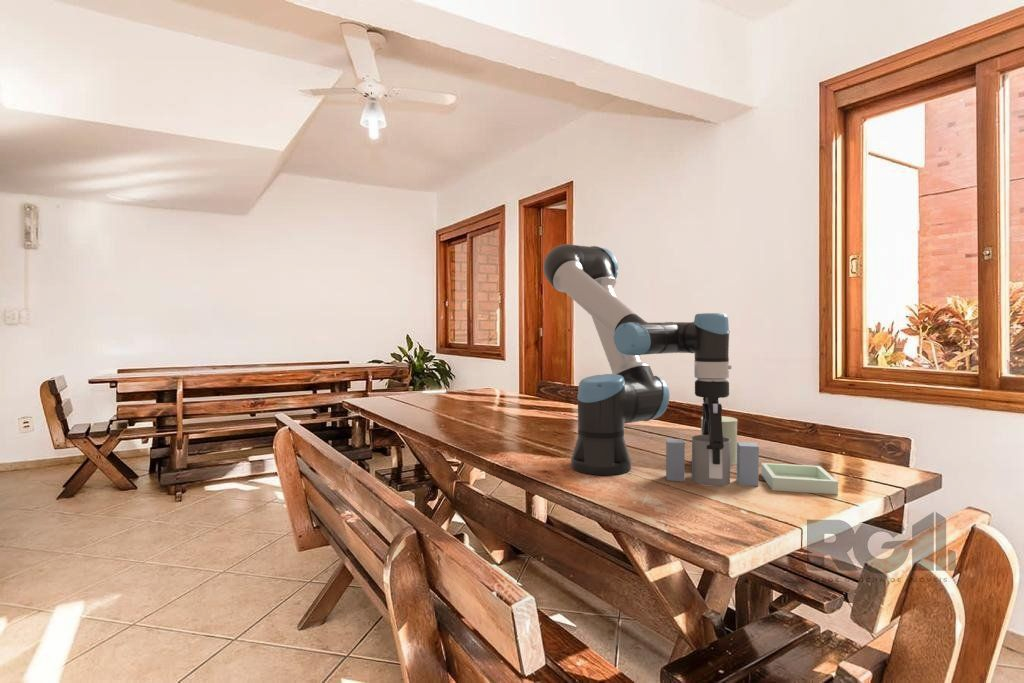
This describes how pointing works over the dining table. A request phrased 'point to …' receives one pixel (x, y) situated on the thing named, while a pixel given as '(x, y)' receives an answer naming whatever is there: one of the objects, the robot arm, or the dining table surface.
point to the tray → (799, 478)
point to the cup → (702, 462)
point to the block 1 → (675, 459)
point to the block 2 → (747, 463)
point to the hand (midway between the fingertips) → (712, 470)
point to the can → (729, 435)
